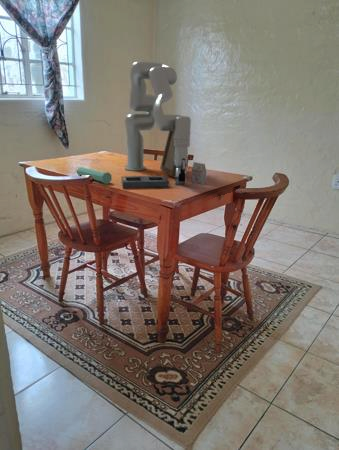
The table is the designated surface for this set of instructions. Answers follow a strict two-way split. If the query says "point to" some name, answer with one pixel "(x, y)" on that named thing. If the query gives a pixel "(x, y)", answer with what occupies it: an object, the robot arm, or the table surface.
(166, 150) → the photo frame
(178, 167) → the bushing
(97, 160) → the table surface
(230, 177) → the table surface
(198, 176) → the grey upright block
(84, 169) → the container
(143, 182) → the block
